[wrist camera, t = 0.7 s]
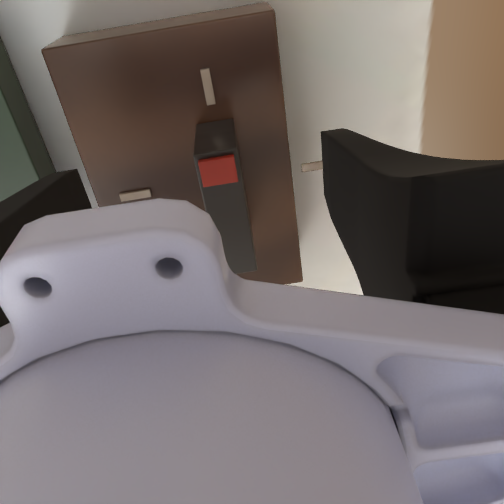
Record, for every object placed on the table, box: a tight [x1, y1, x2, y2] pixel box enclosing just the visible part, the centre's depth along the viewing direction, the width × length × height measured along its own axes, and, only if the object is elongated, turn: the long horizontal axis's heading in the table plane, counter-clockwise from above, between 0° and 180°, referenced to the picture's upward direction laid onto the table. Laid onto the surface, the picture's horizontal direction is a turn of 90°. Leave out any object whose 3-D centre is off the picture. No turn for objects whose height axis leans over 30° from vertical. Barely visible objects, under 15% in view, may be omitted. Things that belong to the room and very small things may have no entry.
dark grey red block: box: [193, 118, 257, 274], centre depth 19 cm, size 6×2×4 cm, turn 8°
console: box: [41, 2, 323, 285], centre depth 22 cm, size 13×11×3 cm
